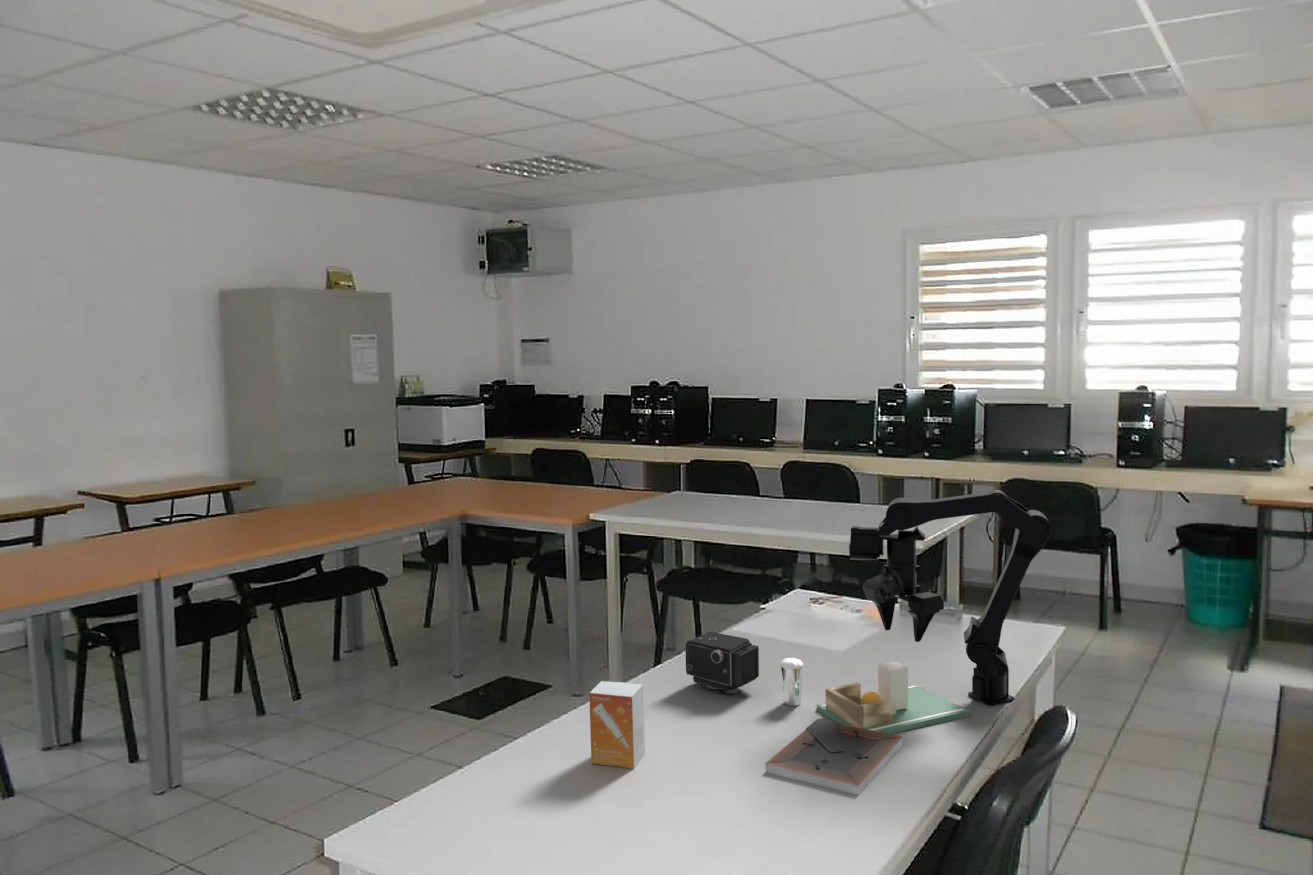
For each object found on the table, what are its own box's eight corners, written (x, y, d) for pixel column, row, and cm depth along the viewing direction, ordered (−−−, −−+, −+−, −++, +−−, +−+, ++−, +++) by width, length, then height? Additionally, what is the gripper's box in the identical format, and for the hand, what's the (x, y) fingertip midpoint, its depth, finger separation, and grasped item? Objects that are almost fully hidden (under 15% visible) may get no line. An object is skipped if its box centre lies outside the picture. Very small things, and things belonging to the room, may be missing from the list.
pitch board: (915, 689, 196) (915, 684, 196) (969, 715, 181) (969, 710, 181) (816, 709, 186) (816, 704, 186) (865, 739, 172) (865, 733, 172)
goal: (857, 702, 187) (857, 682, 187) (892, 721, 177) (892, 700, 177) (825, 708, 184) (825, 688, 184) (859, 729, 174) (859, 708, 174)
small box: (590, 764, 165) (588, 692, 164) (603, 749, 171) (601, 679, 170) (634, 769, 162) (632, 696, 161) (646, 754, 169) (643, 683, 167)
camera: (682, 694, 200) (741, 702, 190) (676, 641, 199) (734, 647, 190) (711, 679, 208) (769, 686, 198) (705, 628, 207) (763, 633, 198)
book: (817, 731, 178) (765, 776, 160) (817, 718, 178) (765, 762, 160) (903, 749, 169) (858, 799, 151) (903, 735, 169) (858, 784, 151)
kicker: (890, 698, 188) (890, 659, 187) (913, 710, 181) (912, 669, 181) (869, 702, 186) (869, 663, 185) (891, 715, 179) (891, 674, 179)
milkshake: (807, 708, 187) (806, 659, 186) (780, 706, 188) (779, 658, 188) (808, 699, 192) (807, 651, 191) (781, 698, 193) (781, 650, 192)
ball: (861, 685, 183) (853, 704, 182) (874, 692, 179) (865, 711, 179) (876, 692, 184) (868, 711, 184) (889, 699, 181) (880, 718, 180)
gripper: (841, 557, 197) (842, 630, 198) (900, 575, 180) (901, 655, 182) (883, 550, 202) (884, 622, 203) (945, 567, 185) (946, 645, 186)
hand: (902, 635), depth 193 cm, fingers open, 9 cm apart
